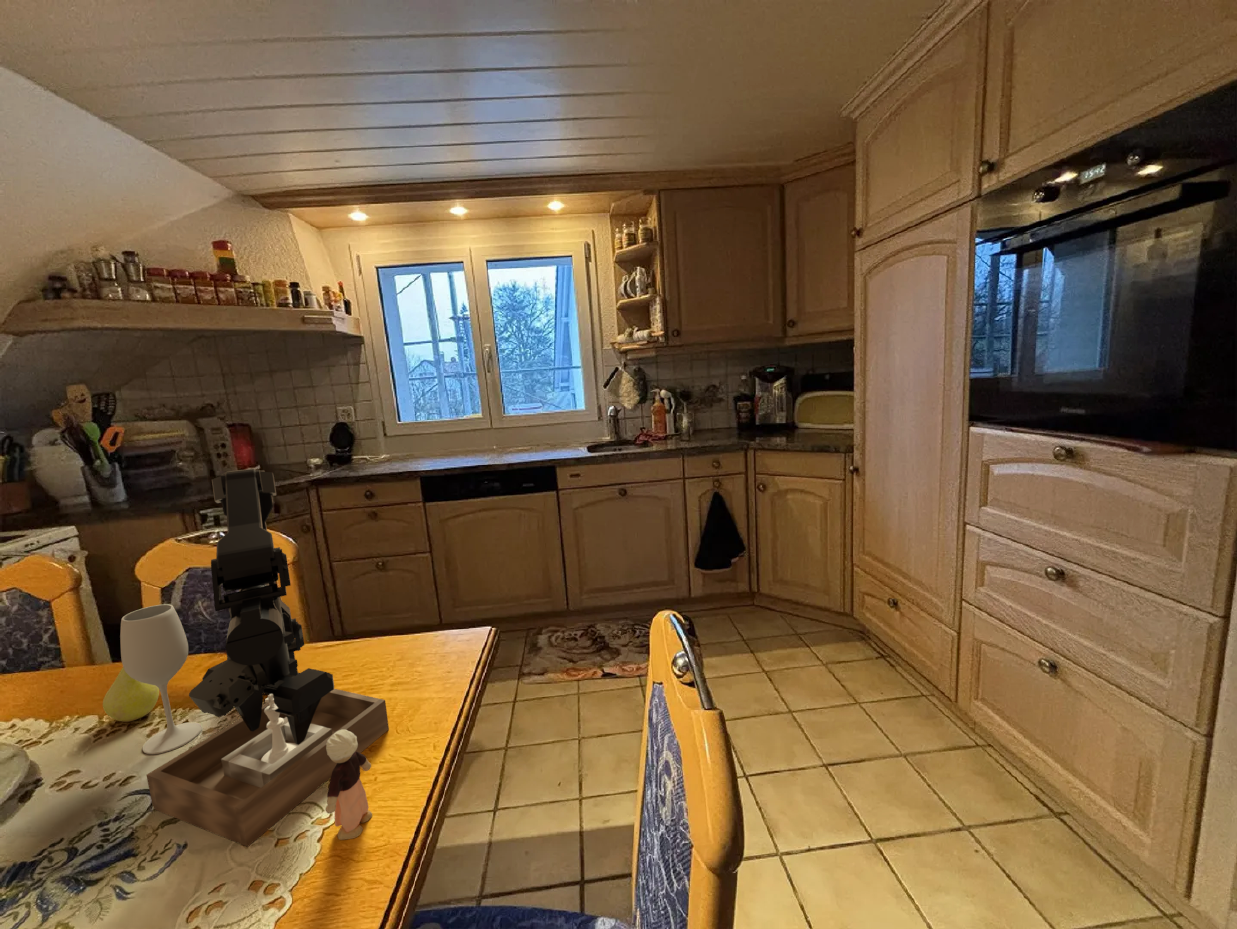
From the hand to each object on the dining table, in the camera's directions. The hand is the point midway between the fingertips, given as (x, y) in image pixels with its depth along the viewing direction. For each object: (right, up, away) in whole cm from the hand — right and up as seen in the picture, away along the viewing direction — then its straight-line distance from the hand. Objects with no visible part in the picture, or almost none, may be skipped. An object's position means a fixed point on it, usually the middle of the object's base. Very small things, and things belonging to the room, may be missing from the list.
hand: (277, 736), depth 74 cm
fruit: (-33, -4, +15) cm, 36 cm away
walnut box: (0, -5, +1) cm, 5 cm away
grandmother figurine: (+16, -6, -11) cm, 20 cm away
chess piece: (0, -4, +1) cm, 4 cm away
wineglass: (-22, -5, +8) cm, 24 cm away
